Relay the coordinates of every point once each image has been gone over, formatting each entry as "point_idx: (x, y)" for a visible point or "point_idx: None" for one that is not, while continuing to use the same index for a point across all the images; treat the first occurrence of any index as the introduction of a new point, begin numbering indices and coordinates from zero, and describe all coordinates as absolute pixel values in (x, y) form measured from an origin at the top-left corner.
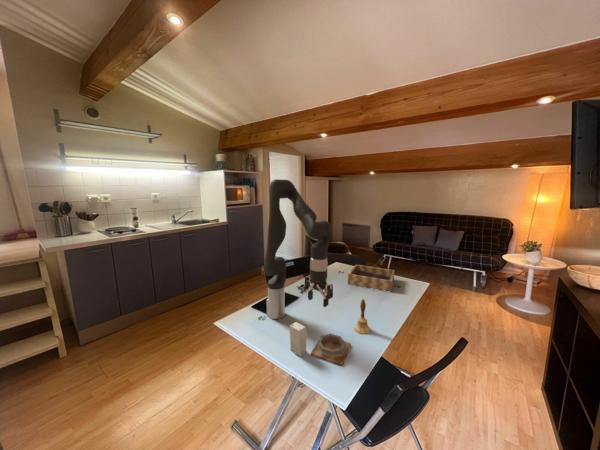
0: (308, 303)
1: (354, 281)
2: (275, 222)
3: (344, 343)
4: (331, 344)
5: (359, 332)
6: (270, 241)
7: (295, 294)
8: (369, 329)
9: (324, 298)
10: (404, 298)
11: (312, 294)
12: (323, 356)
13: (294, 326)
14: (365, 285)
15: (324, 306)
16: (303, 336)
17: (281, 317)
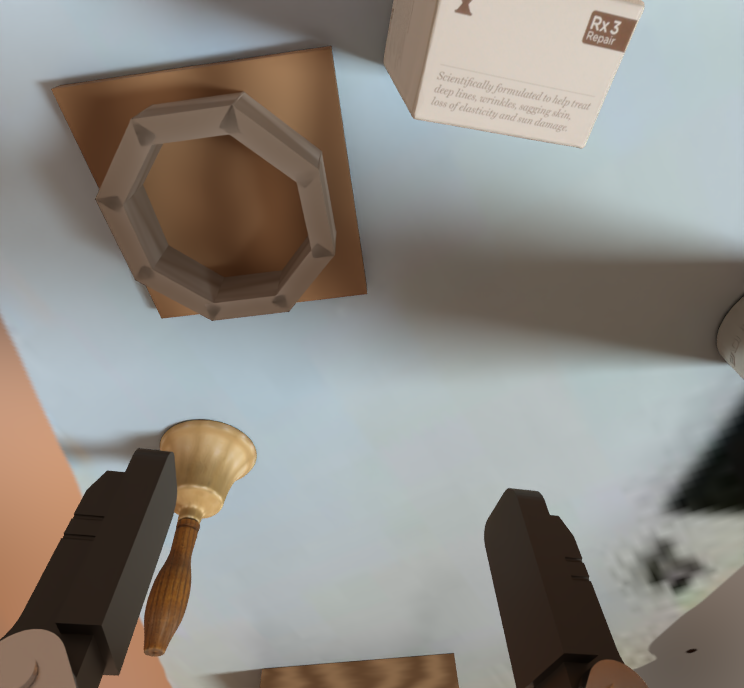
0: (590, 493)
1: (424, 680)
2: None
3: (136, 268)
4: (256, 243)
5: (198, 424)
6: None
7: (698, 521)
8: None
9: (42, 649)
10: (195, 660)
11: (504, 613)
12: (221, 81)
13: (565, 21)
14: (371, 672)
15: (134, 456)
16: (408, 44)
17: (735, 310)
